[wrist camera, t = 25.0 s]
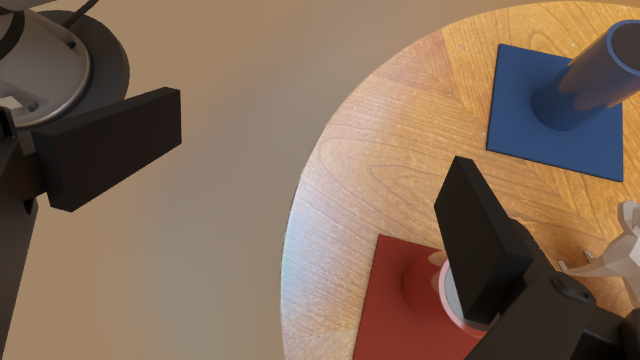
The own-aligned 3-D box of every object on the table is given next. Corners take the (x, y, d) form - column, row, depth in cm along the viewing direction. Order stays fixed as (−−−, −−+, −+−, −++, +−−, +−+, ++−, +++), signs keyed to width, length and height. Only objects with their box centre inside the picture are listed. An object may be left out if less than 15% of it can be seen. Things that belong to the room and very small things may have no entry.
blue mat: (498, 45, 44) (500, 43, 43) (619, 71, 42) (621, 69, 42) (485, 149, 39) (487, 148, 39) (620, 182, 38) (623, 181, 37)
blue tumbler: (533, 80, 41) (606, 12, 31) (584, 91, 41) (677, 27, 30) (529, 124, 40) (606, 68, 29) (583, 137, 39) (682, 84, 29)
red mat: (379, 234, 36) (379, 233, 35) (494, 265, 35) (496, 265, 35) (340, 415, 31) (340, 417, 30) (475, 457, 30) (477, 459, 29)
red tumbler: (406, 247, 35) (445, 234, 24) (466, 263, 35) (531, 257, 24) (395, 309, 33) (431, 324, 23) (458, 327, 33) (525, 351, 22)
